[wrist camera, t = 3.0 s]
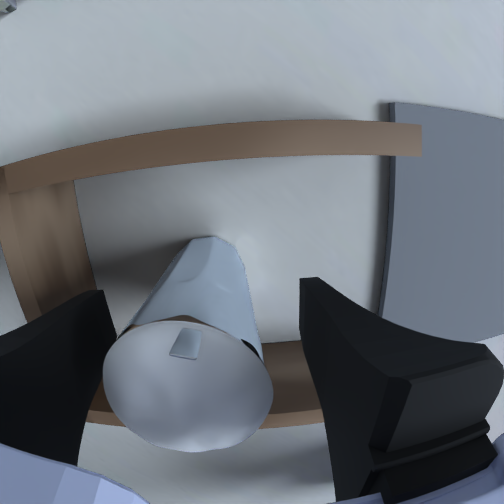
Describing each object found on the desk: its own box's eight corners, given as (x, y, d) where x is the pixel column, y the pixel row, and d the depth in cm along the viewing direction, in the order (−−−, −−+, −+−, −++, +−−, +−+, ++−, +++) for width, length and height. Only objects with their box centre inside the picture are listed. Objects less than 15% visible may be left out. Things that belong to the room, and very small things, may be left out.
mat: (524, 321, 18) (528, 325, 17) (370, 358, 18) (373, 364, 17) (557, 136, 13) (563, 137, 12) (389, 102, 13) (394, 102, 12)
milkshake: (271, 214, 14) (321, 374, 5) (247, 316, 16) (254, 501, 7) (170, 196, 14) (56, 325, 5) (158, 300, 16) (93, 473, 7)
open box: (352, 348, 17) (380, 412, 13) (105, 360, 17) (76, 420, 13) (365, 123, 13) (421, 124, 8) (52, 153, 13) (-14, 171, 8)
